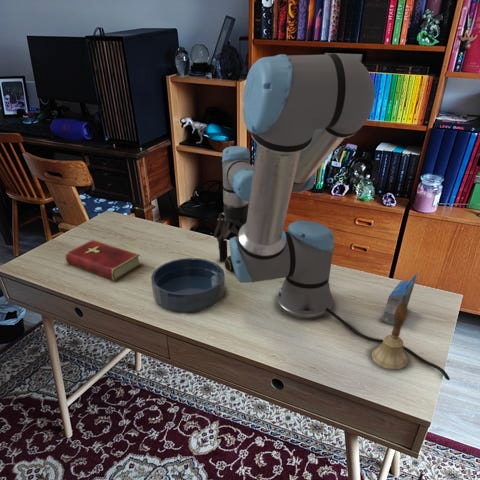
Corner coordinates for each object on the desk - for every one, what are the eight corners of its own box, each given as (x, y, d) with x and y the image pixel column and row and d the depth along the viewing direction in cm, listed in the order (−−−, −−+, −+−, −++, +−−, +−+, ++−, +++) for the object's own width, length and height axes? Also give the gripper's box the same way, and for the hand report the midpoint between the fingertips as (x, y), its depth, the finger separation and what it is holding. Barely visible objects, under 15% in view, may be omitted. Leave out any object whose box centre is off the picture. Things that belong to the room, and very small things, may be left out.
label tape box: (393, 306, 123) (402, 267, 116) (407, 311, 121) (418, 271, 114) (381, 321, 117) (390, 281, 110) (396, 326, 115) (407, 286, 108)
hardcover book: (114, 282, 134) (111, 269, 132) (67, 264, 143) (64, 252, 141) (141, 265, 142) (139, 253, 140) (95, 250, 151) (92, 238, 149)
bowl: (239, 294, 128) (239, 277, 125) (180, 322, 117) (178, 303, 114) (197, 268, 141) (195, 251, 137) (140, 291, 130) (137, 273, 126)
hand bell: (372, 344, 109) (384, 289, 100) (407, 350, 107) (423, 295, 98) (370, 366, 103) (383, 309, 94) (407, 373, 101) (424, 316, 92)
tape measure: (250, 271, 139) (250, 260, 137) (231, 276, 136) (230, 266, 134) (239, 262, 144) (239, 252, 142) (221, 267, 141) (220, 256, 139)
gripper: (275, 212, 123) (272, 278, 135) (219, 188, 138) (221, 250, 150) (255, 219, 119) (254, 287, 131) (200, 194, 134) (204, 257, 146)
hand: (236, 267), depth 141 cm, fingers open, 13 cm apart
